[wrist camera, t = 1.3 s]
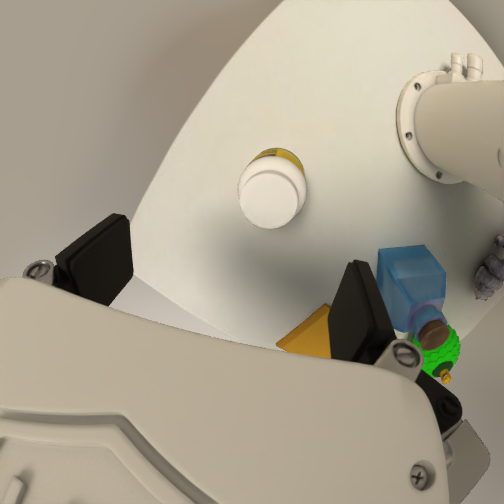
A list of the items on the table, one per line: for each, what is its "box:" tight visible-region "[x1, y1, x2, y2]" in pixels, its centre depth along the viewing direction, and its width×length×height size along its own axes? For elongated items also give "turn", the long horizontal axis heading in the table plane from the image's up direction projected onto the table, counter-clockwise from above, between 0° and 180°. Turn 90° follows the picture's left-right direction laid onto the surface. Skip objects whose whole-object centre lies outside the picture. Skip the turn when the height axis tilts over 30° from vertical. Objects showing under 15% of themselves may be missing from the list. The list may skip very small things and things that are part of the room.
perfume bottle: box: [376, 245, 450, 351], centre depth 24 cm, size 6×6×12 cm
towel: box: [276, 304, 331, 359], centre depth 36 cm, size 12×10×1 cm
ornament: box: [412, 324, 460, 384], centre depth 29 cm, size 8×8×10 cm
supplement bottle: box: [238, 148, 307, 229], centre depth 22 cm, size 5×5×10 cm
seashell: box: [474, 235, 504, 301], centre depth 25 cm, size 5×5×10 cm
